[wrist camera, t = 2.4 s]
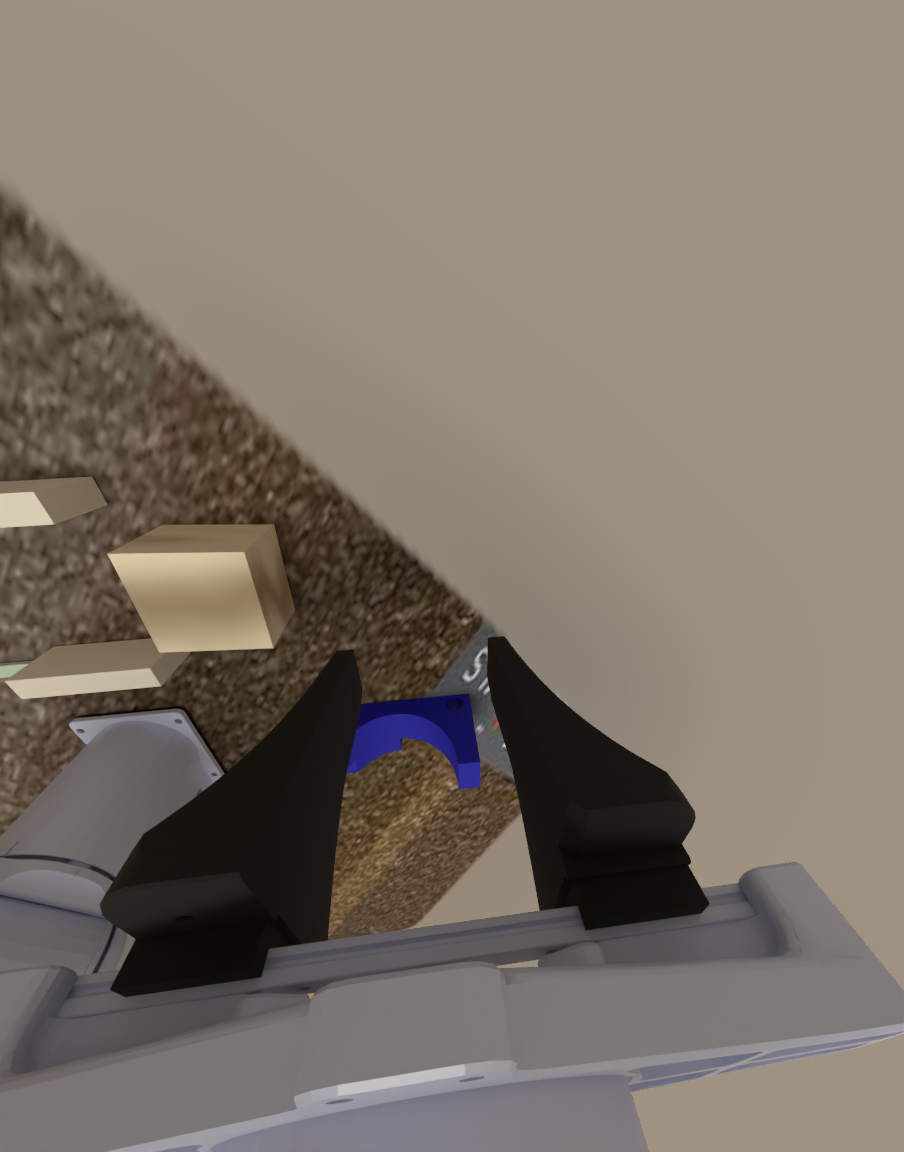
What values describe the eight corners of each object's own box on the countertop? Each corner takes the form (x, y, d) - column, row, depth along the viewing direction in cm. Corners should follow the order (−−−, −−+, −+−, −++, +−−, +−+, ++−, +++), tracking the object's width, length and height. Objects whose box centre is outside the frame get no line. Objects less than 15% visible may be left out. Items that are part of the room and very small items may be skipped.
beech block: (295, 608, 22) (273, 648, 19) (200, 610, 22) (159, 652, 18) (275, 523, 19) (244, 552, 16) (164, 523, 19) (107, 553, 15)
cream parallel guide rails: (190, 652, 23) (161, 686, 20) (68, 663, 22) (21, 699, 20) (92, 476, 17) (33, 491, 14) (-77, 485, 17) (-170, 503, 14)
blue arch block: (333, 740, 29) (315, 817, 24) (322, 705, 27) (299, 781, 22) (468, 726, 30) (479, 797, 25) (468, 691, 28) (480, 761, 22)
